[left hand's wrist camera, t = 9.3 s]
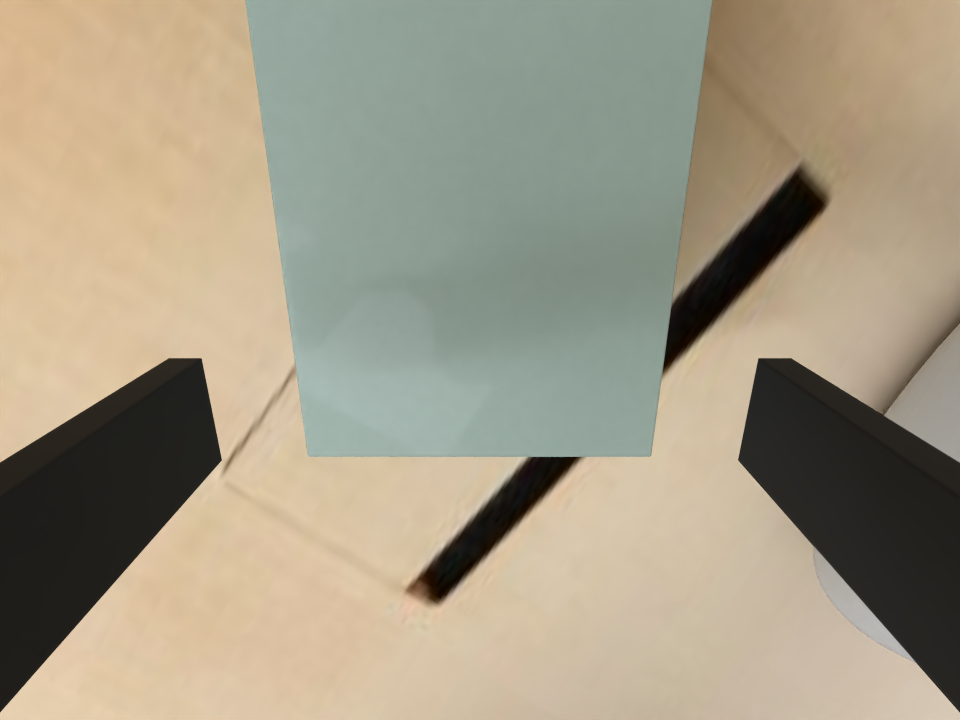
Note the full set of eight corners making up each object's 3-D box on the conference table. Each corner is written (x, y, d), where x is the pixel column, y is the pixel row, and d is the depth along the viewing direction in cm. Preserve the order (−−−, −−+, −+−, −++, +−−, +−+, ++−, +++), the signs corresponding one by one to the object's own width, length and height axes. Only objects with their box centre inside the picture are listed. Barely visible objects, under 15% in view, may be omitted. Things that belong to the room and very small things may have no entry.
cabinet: (329, -122, 20) (191, -380, 11) (629, -122, 20) (765, -381, 11) (369, 352, 27) (307, 457, 18) (590, 352, 27) (651, 457, 18)
